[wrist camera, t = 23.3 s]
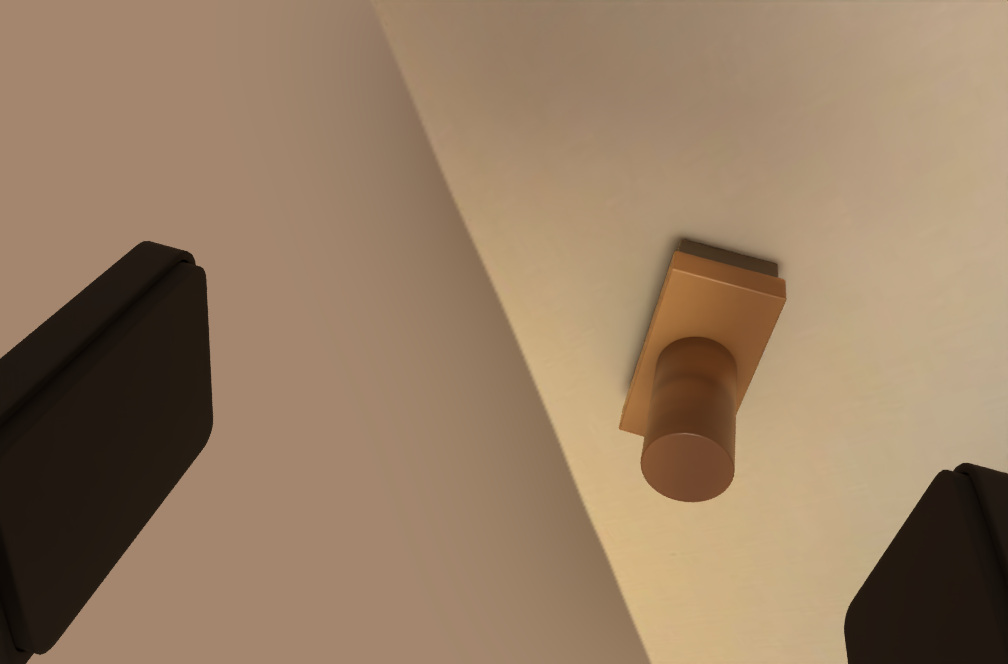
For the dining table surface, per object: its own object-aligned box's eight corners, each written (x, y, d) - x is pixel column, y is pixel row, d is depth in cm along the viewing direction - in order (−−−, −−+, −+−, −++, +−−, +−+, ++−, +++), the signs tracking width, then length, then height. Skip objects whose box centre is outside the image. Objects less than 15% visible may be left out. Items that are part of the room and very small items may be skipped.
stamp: (626, 389, 39) (597, 530, 32) (677, 232, 35) (657, 357, 27) (719, 415, 39) (711, 564, 32) (784, 260, 34) (793, 395, 27)
